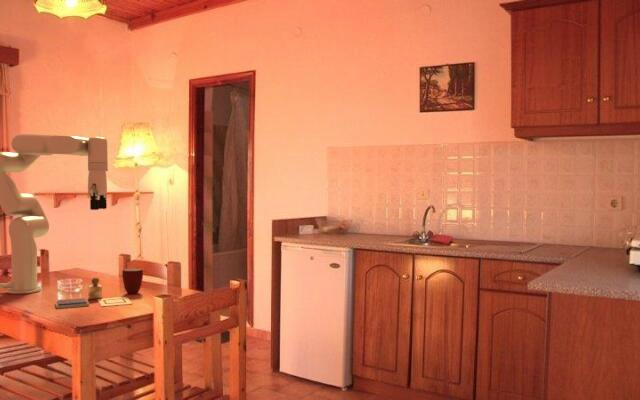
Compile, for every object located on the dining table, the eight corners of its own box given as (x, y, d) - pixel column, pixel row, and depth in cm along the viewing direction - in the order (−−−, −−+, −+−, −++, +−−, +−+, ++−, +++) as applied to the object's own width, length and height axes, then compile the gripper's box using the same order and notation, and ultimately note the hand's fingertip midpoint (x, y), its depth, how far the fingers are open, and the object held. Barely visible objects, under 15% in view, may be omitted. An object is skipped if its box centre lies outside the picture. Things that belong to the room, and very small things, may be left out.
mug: (119, 291, 238) (119, 268, 238) (138, 290, 242) (138, 267, 242) (125, 296, 229) (125, 271, 229) (145, 294, 233) (145, 270, 233)
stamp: (89, 300, 220) (89, 278, 219) (88, 298, 224) (88, 277, 223) (102, 299, 222) (102, 277, 222) (100, 297, 226) (100, 276, 226)
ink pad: (56, 308, 205) (56, 304, 205) (55, 303, 213) (55, 300, 213) (89, 305, 210) (89, 301, 210) (86, 301, 218) (86, 297, 218)
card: (101, 306, 208) (101, 305, 208) (97, 299, 221) (97, 298, 221) (132, 304, 214) (132, 303, 214) (126, 297, 226) (126, 296, 226)
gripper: (95, 168, 239) (96, 208, 239) (80, 166, 221) (81, 210, 222) (113, 168, 239) (114, 208, 239) (100, 166, 222) (101, 210, 222)
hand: (98, 209), depth 231 cm, fingers open, 9 cm apart
